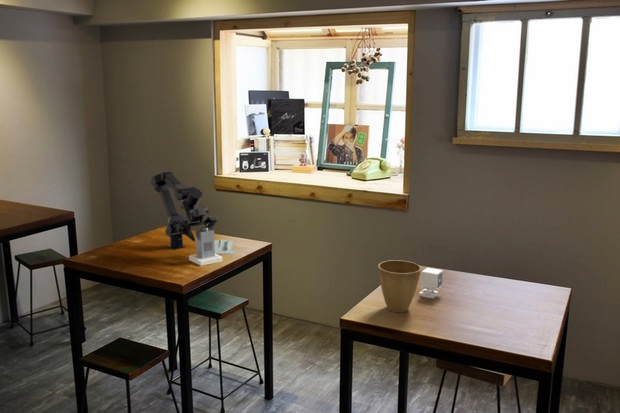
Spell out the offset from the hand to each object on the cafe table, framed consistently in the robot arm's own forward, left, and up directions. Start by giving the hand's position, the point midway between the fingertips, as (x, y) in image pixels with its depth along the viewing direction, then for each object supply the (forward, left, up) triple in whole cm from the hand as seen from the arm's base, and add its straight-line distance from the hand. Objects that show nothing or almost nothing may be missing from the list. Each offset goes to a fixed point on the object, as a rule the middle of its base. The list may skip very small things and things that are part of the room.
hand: (203, 239), depth 276 cm
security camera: (+98, +35, -10) cm, 105 cm away
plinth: (+1, 0, -10) cm, 10 cm away
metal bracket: (-8, +15, -10) cm, 20 cm away
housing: (+1, 0, -8) cm, 8 cm away
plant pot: (+98, +15, -10) cm, 100 cm away
